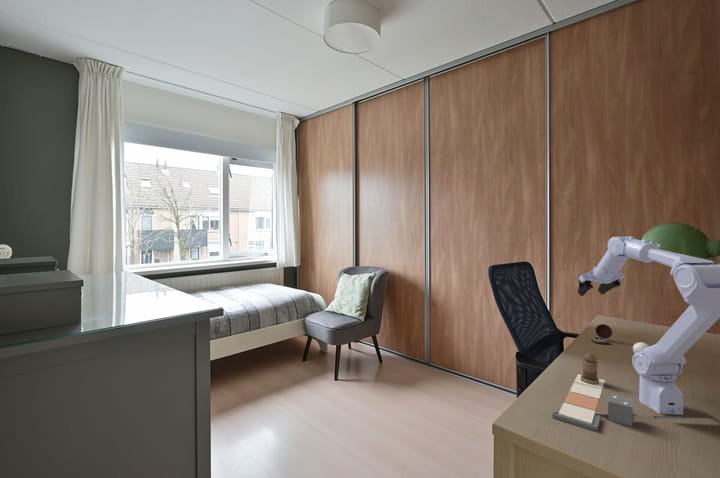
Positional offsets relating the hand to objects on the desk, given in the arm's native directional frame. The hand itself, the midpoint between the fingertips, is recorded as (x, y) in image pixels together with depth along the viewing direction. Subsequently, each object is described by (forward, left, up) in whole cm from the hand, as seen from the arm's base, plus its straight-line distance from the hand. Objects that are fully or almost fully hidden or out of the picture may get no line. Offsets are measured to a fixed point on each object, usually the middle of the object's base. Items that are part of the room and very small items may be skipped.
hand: (590, 293), depth 124 cm
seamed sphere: (+13, -25, -27) cm, 40 cm away
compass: (+29, -22, -27) cm, 45 cm away
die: (-33, +10, -27) cm, 44 cm away
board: (-23, +14, -27) cm, 38 cm away
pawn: (-13, +7, -26) cm, 30 cm away
